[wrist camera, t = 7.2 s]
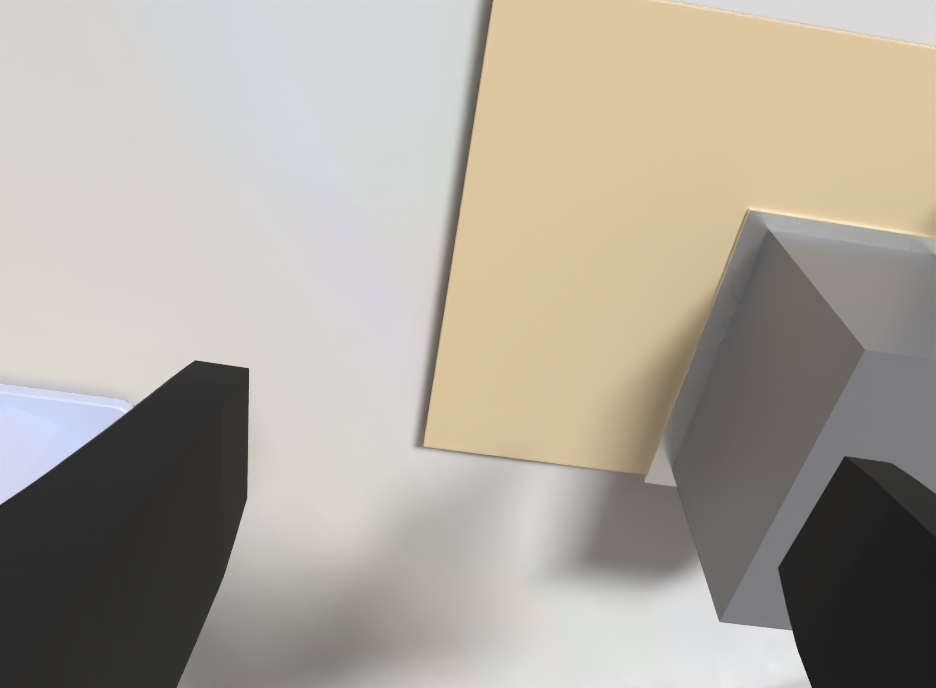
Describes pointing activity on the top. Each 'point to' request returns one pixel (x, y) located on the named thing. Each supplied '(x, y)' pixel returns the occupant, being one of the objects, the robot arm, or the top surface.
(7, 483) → the robot arm
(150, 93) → the top surface
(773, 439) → the plug housing
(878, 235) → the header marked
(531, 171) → the tan square board
